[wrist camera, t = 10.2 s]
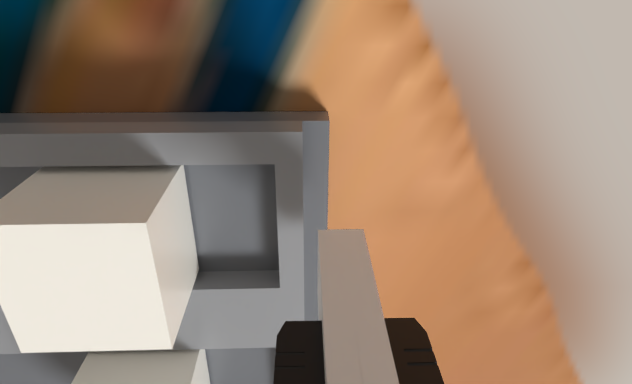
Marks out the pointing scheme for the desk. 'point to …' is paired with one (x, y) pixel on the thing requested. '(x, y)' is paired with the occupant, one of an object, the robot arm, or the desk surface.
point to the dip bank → (201, 222)
